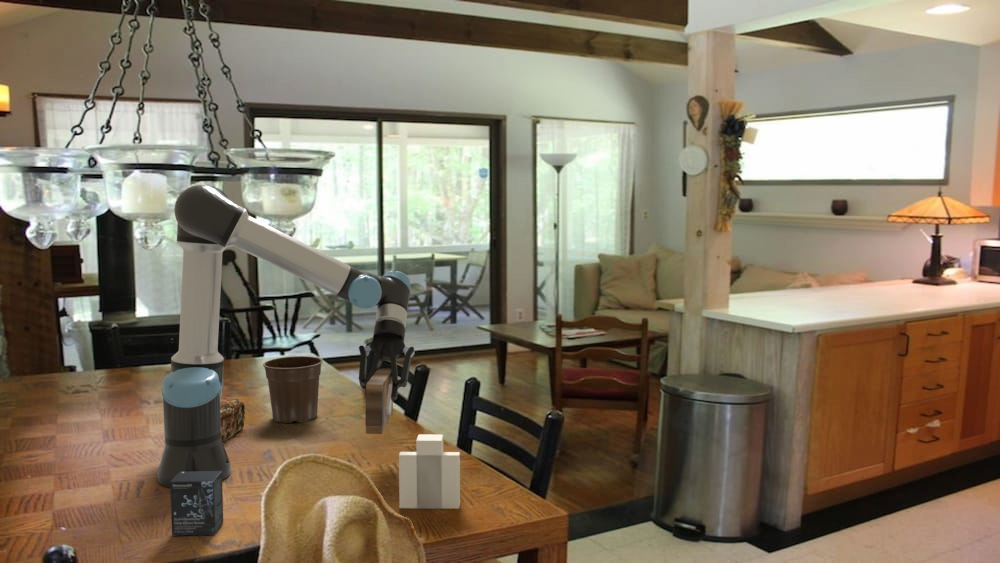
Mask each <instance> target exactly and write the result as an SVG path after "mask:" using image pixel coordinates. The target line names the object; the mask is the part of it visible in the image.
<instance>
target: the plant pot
mask: <svg viewBox="0 0 1000 563" xmlns="http://www.w3.org/2000/svg"><path fill="white" fill-rule="evenodd" d="M323 360H324V359H322V358H320V357H317V356H307V355H304V356H303V355H299V356H284V357H276V358H273V359H269V360H266V361H264V362H263V363H262V367H263V368H264V371H265V377H266V379H267V384H268V390H269V399H270V406H271V413H272V415H271V416H272V419H273V421H275V422H277V423H281V424H282V423H283V424H291V423H293V422H297V423H303V422H308V421H311V420H313V419H315V418H316V417H317V416H318V402H319V386H320V376H321V373H322V364H323V362H324V361H323Z"/></svg>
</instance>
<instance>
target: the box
mask: <svg viewBox="0 0 1000 563" xmlns="http://www.w3.org/2000/svg"><path fill="white" fill-rule="evenodd" d="M169 488H170V489H169V490H170V509H171V510H170V517H171V518H170V519H171V536H172V537H175V536H176V537H177V536H215V535H216V534H217V533H218V531H219V530H220V528H221V527H222V526H223V524H224V508H223V507H224V501H223V500H224V498H223V497H224V495H223V493H224V492H223V480H222V471H191V472H185V471H180V472H179V473H178V474H177V475H176V476H175V477H174V478H173V479H172V480H171V482H170V487H169Z"/></svg>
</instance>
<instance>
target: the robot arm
mask: <svg viewBox="0 0 1000 563" xmlns="http://www.w3.org/2000/svg"><path fill="white" fill-rule="evenodd" d="M173 212H174V217H175V219H176V222H177V227H176V244H178V245H179V246H180V247H181V249H182V270H181V271H182V272H181V293H180V294H181V295H180V296H181V297H180V317H179V340H178V351H177V352H176V353H175V354H173V355H172V356H171V357H170V358H171V359H170V360H171V361H170V372H169V373H168V374H167V375H165V377H164V378H163V380H162V387H161V396H162V401H163V402H162V406H163V407H162V408H163V426H164V427H163V428H164V448H163V452H162V455H161V458H160V462H159V466H158V468H157V481H158V484H159V485H161V486H163V487H166V488H170V482H171V480H172V479H173V478H174V477H175V476H176V475H177V474H178V473H179V472H180V471H185V472H191V471H222V481H223V480H225V479H226V478H228V477H229V476H230V475H231V471H232V470H231V468H232V467H231V461H230V458H229V456H228V453H227V451H226V448H225V446H224V443H223V442H222V440H221V418H220V402H221V397H223V392H224V388H225V386H224V385H225V383H224V382H225V381H224V365H225V364H224V363H225V360H224V358H225V357H224V356H223V355H222V354H221V353H220V352H219V351H218V349H219V348H218V347H219V329H220V327H219V325H220V309H221V288H222V270H223V269H222V268H223V267H222V266H223V252H224V251H225V250H226V249H227V248H231V247H234V248H236V249H239V250H240V251H242V252H245V253H246V254H249V255H251V256H254V257H256V258H258V259H259V260H261V261H262V262H263V261H264V262H266V263H268V264H270V265H272V266H274V267H277V268H279V269H280V270H283V271H284V272H287V273H289V274H290V275H293V276H295V277H297V278H299V279H301V280H303V281H305V282H308V283H310V284H311V285H314V286H316V287H317V288H320V289H322V290H324V291H326V292H329V293H331V294H333V295H334V296H337V297H338V298H340V299H342V300H344V301H347V302H349V303H351V305H353V306H355V307H357V308H359V309H365V310H366V309H371V308H373V307H377V310H376V314H375V315H376V316H375V320H374V321H375V323H374V324H375V325H374V328H373V335H372V339H371V342H370V343H369V344H368V345H366V346H364V345H359V346H358V350H359V355H360V357H359V358H360V360H359V361H360V362H359V369H358V370H359V371H358V381H359V385H360V386H361V387H365V388H364V393H363V394H364V398H365V400H366V384H367V383H368V381H369V380H370V379H371V377H372V376H373V375H374V373H375V372H376V371H377V370H378V369H379V368H381V365H382V363H383V362H385V361H388V362H390V369H391V371H392V383H393V384H389V388H388V396H387V403H386V412H387V415H390V413H391V405H392V400H393V401H397V399H398V393H399V389H400V388H406V387H407V384H408V380H409V379H408V378H409V373H410V368H411V364H412V359H413V358H414V357H415V355H416V354H415V347H413V346H410V347H408V346H406V344H405V336H406V327H407V318H408V308H409V304H410V303H409V301H410V296H411V280H410V277H409V276H408V274H405V273H404V272H402V271H400V270H396V271H393V270H390V271H387V272H385V273H384V274H383V275H377V274H373V273H370V272H368V271H364V270H361V269H359V268H358V269H357V268H355V267H352V266H350V265H349V264H347V263H344V262H343V261H341V260H338V259H337V258H335V257H333V256H331V255H329V254H327V253H325V252H323V251H321V250H318V249H317V248H315V247H313V246H310V245H309V244H307V243H305V242H303V241H301V240H299V239H297V238H295V237H292V236H291V235H288V234H287V233H285V232H283V231H280V230H279V229H277V228H275V227H273V226H270V225H269V224H266V223H265V222H262V221H261V220H259V219H256V218H255V217H252V216H251V215H249V213H248V210H247V209H246V208H244V207H242V206H241V205H238V204H236V203H235V202H233V201H232V200H231V199H230V198H229V196H228V195H227V194H226V193H225V192H224V191H223V190H222V189H220V188H218V187H217V186H214V185H208V184H197V185H193V186H189V187H188V188H186V189H184V190H183V191H182V192H181V193H180V194H179V195H178V196H177V198H176V201H175V204H174V210H173ZM370 353H372V354H373V356H374V357H373V360H372V362H371V363H372V364H371V366H370V370H369V372H368V375H367V367H368V366H367V365H368V357H369V354H370ZM403 353H404V360H403V364H402V370H401V375H400V378H399V376H398V363H397V359H398V358H399V357H400V356H401V355H402V354H403Z"/></svg>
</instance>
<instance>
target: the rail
mask: <svg viewBox="0 0 1000 563" xmlns="http://www.w3.org/2000/svg"><path fill="white" fill-rule="evenodd" d="M389 384H393V383H392V371H391V368H388V367H385V368H381V367H379V369H378V370H377V371H376V372H375V373H374V375H373V376H372V377H371V379H370V380H369V381H368V383H367V384H366V399H365V434H366V435H367V434H368V435H369V434H370V435H382V434H383V433H384V431H385V429H386V427H387V425H388V424H389V422H390V421H391V418H392V416H393V412H394V410H393V408H394V404H393V403H394V400H392V405H391V413H390V415H387V412H386V403H387V396H388V388H389Z"/></svg>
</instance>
